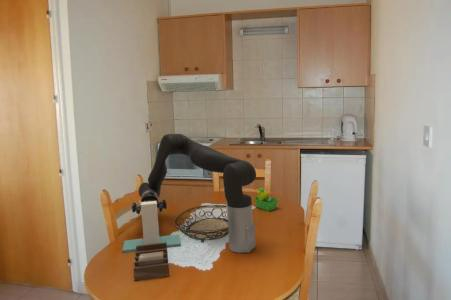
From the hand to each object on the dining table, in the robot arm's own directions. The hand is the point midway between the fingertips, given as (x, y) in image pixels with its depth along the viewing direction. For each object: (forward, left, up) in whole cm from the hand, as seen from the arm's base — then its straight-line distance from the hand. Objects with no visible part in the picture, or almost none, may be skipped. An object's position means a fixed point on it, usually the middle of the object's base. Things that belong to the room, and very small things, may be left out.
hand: (149, 210), depth 153 cm
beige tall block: (-4, +5, -11) cm, 13 cm away
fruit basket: (-26, -57, -13) cm, 64 cm away
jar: (-22, -33, -13) cm, 42 cm away
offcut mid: (-18, +21, -12) cm, 30 cm away
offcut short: (-16, +18, -12) cm, 27 cm away
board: (-4, +5, -13) cm, 14 cm away
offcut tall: (-21, +25, -12) cm, 34 cm away
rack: (-16, +19, -13) cm, 28 cm away
